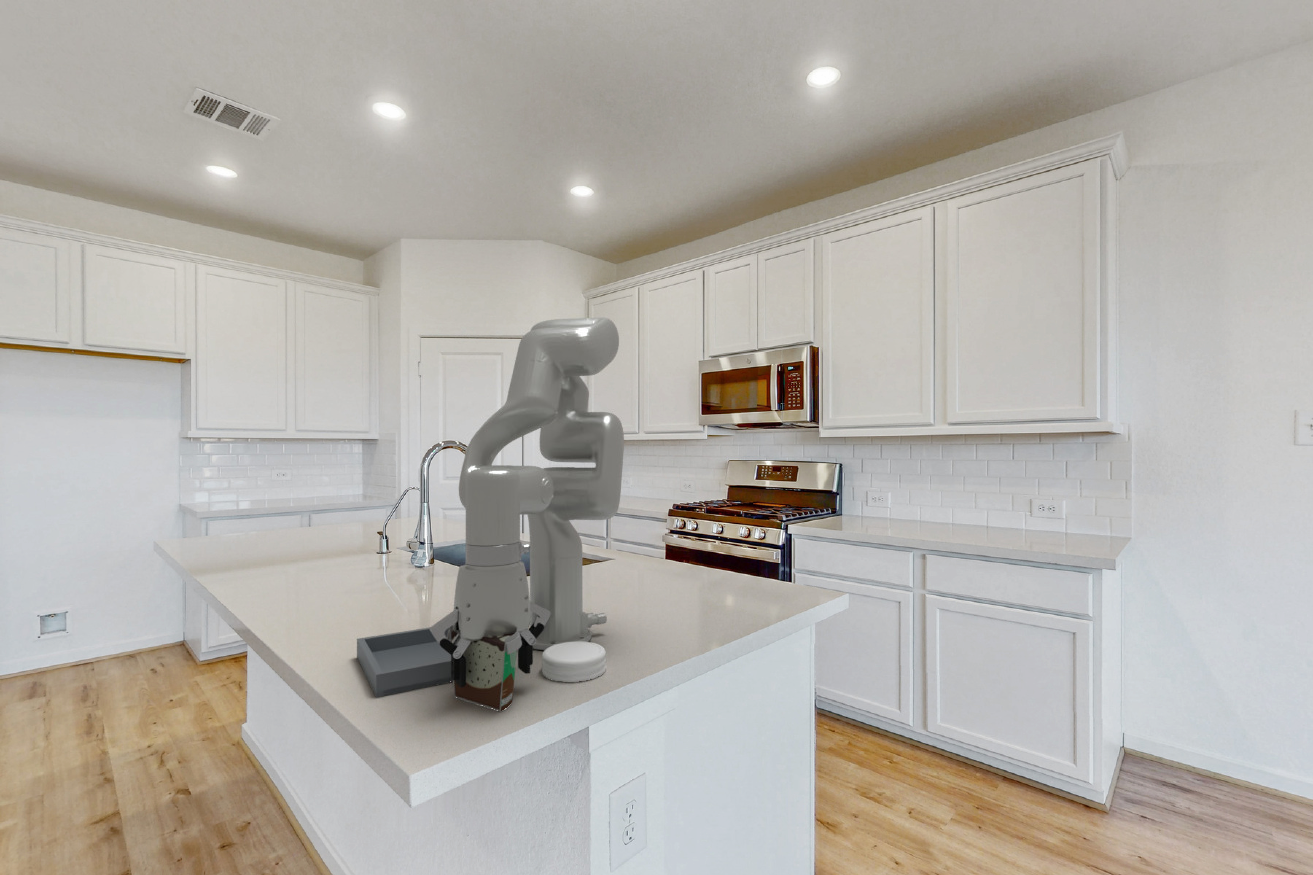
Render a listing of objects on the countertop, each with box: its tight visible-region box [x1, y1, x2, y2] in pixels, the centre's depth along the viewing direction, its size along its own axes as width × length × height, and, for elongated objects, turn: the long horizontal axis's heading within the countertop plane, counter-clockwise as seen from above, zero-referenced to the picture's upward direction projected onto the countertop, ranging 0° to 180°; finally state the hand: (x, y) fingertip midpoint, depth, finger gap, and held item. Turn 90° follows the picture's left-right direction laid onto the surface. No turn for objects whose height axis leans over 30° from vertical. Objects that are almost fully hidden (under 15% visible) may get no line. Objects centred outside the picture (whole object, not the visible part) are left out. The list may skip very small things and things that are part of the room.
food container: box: [447, 625, 522, 712], centre depth 89 cm, size 12×6×10 cm, turn 58°
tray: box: [356, 626, 453, 698], centre depth 103 cm, size 20×20×3 cm
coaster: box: [541, 641, 607, 683], centre depth 99 cm, size 10×10×4 cm
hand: (492, 677), depth 89 cm, fingers open, 8 cm apart
